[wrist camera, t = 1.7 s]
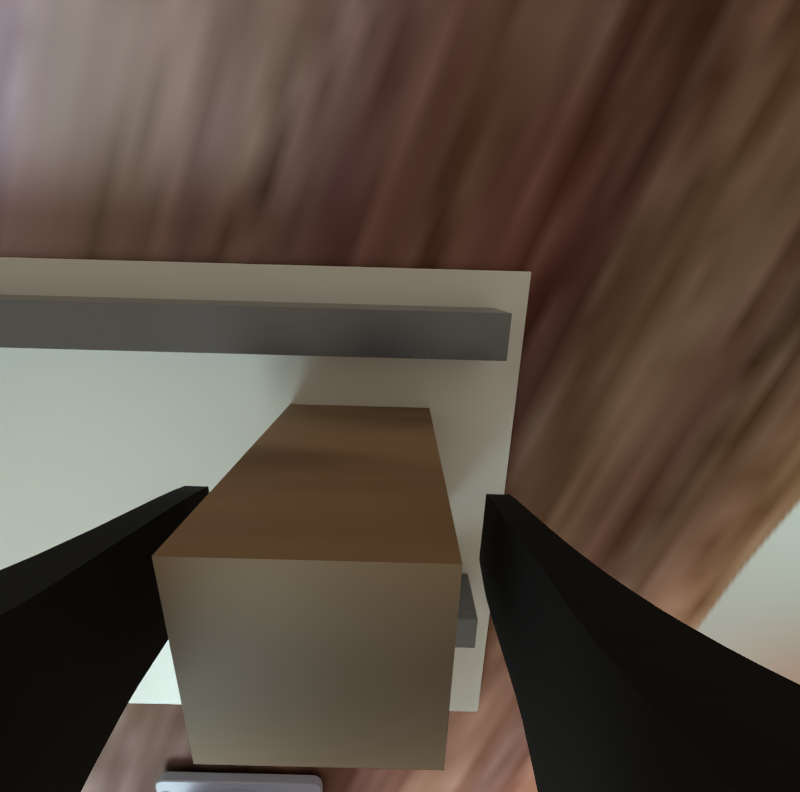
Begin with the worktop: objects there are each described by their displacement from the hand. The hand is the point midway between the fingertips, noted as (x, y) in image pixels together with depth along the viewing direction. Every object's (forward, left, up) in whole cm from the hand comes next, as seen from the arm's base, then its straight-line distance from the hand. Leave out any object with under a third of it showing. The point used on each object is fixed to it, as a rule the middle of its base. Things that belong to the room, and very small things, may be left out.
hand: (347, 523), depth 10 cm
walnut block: (0, 0, -3) cm, 3 cm away
